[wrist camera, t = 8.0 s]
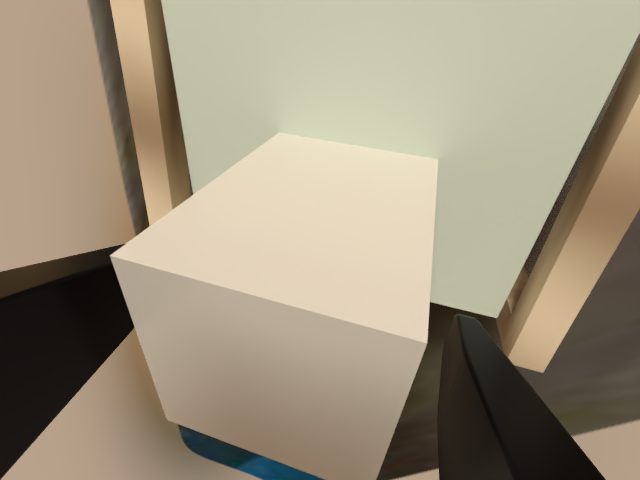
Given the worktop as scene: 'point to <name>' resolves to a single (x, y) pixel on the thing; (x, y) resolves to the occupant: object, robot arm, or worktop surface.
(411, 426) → the worktop surface
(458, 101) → the trapdoor
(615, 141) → the frame
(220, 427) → the stone block
